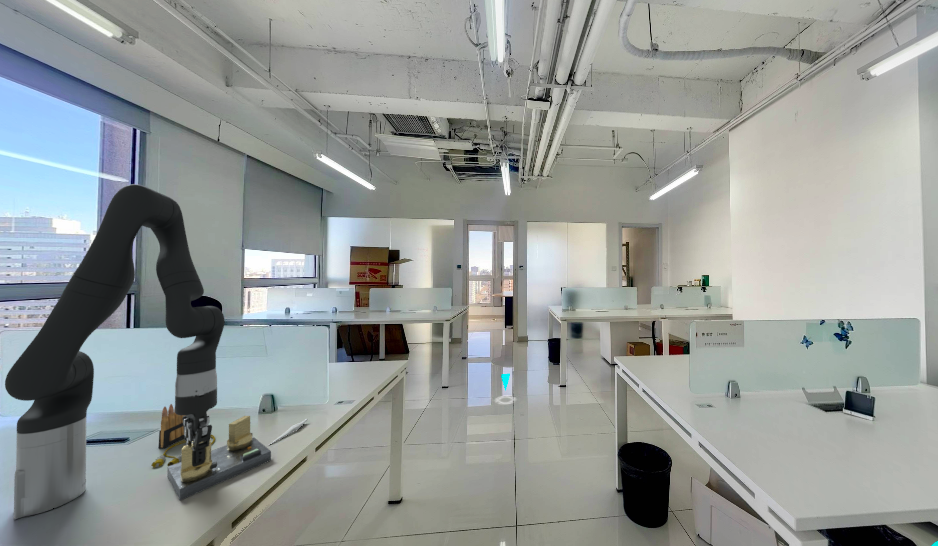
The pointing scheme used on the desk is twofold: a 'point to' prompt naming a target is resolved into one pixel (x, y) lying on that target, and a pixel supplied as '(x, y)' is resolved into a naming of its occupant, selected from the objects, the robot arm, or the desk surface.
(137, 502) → the desk surface
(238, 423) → the knob outer
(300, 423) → the stylus pen
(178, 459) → the extension cord
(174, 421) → the ammunition clip
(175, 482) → the base
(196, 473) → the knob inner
